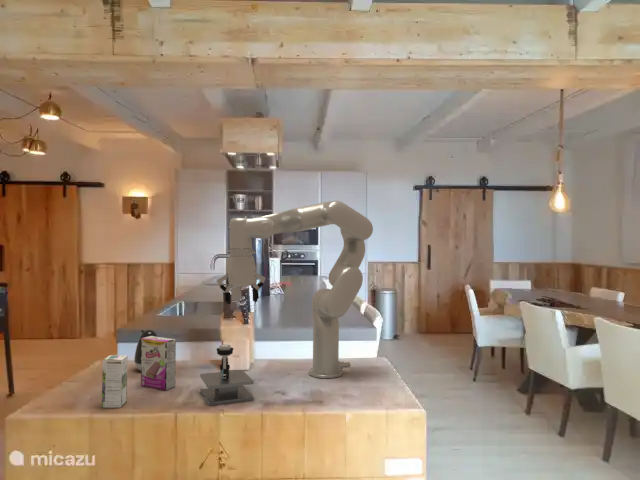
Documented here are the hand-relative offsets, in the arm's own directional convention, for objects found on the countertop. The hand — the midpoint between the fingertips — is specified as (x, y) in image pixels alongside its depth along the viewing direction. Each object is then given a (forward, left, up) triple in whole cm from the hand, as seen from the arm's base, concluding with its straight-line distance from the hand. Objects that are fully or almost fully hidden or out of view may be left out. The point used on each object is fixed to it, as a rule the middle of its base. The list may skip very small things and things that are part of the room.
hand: (241, 302), depth 181 cm
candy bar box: (+27, -5, -28) cm, 39 cm away
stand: (+8, +13, -28) cm, 32 cm away
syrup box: (+41, +9, -28) cm, 51 cm away
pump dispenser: (+28, -28, -28) cm, 49 cm away
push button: (+9, +13, -22) cm, 27 cm away
